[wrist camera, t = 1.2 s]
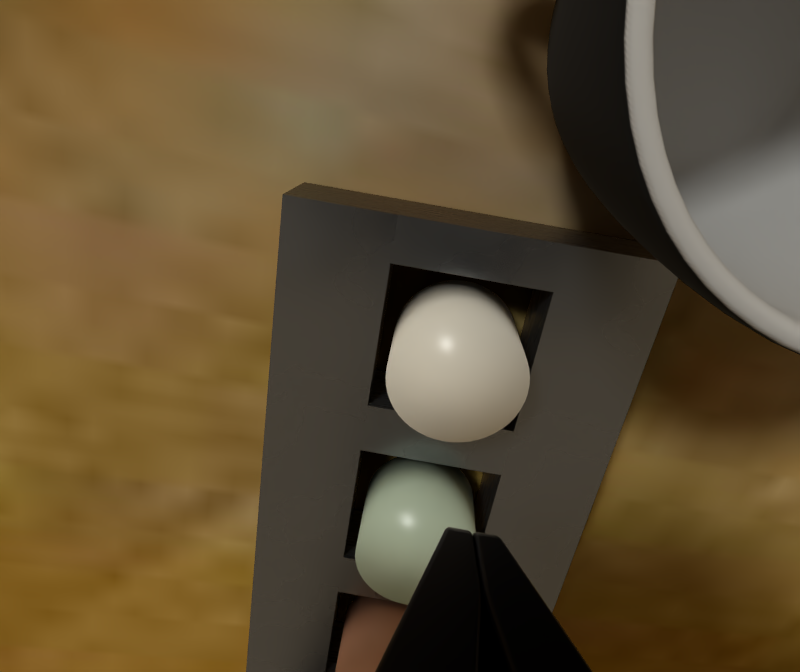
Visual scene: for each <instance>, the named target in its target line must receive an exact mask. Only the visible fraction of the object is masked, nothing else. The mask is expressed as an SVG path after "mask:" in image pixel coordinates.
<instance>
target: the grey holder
mask: <svg viewBox="0 0 800 672" xmlns="http://www.w3.org/2000/svg"><path fill="white" fill-rule="evenodd" d="M394 264H397V265H403V266H408V267H414V268H420V269H425V270H431V271H437V272H442V273H448V274H453V275H459V276H465V277H470V278H476V279H482V280H487V281H493V282H499V283H504V284H510V285H516V286H521V287H527V288H533V292H532V296H531V299H530V303H529V307H528V310H527V314H526V318H525V322H524V325H523V329H522V333H521V336H520V340H521V343H522V346H523V349H524V352H525V355H526V358H527V362H528V366H529V372H530V385H529V390H528V395H527V397H526V400H525V402H524V404H523V406H522V408H521V410H520V411H519V413H518V414H517V415H516V417H515V418H514V419H513V420H512V421H511V422H510V423H509V424H508V425H506V426H505V427H504V428H502V429H501V430H499V431H498V432H496V433H494V434H492V435H490V436H488V437H485V438H482V439H479V440H475V441H470V442H446V441H440V440H436V439H433V438H430V437H427V436H425V435H423V434H421V433H419V432H417V431H416V430H414V429H413V428H411V427H410V426H409V425H408V424H406V423H405V422H404V421H403V420H402V419H401V417H400V416H399V415H398V414H397V412H396V411H395V409H394V408H393V406H392V404H391V402H390V399H389V396H388V393H387V388H386V371H380V370H377V363H378V357H379V351H380V345H381V339H382V333H383V326H384V320H385V314H386V308H387V302H388V295H389V289H390V283H391V277H392V271H393V265H394ZM677 279H678V277H677V276H675V275H674V274H673V273H672V272H671V271H669V270H668V269H667V268H666V267H665V266H664V265H663V264H661V263H660V262H659V261H658V260H657V259H656V258H655V257H654V256H653V255H652V254H651V253H649V252H648V251H647V250H646V249H645V248H644V247H643V246H642V245H641V244H640V243H639V242H638V241H633V240H628V239H622V238H616V237H611V236H605V235H599V234H594V233H588V232H582V231H577V230H571V229H565V228H560V227H554V226H548V225H543V224H537V223H531V222H526V221H520V220H514V219H509V218H503V217H497V216H492V215H486V214H480V213H475V212H469V211H463V210H458V209H452V208H446V207H441V206H435V205H429V204H424V203H418V202H412V201H407V200H401V199H396V198H390V197H384V196H379V195H373V194H367V193H362V192H356V191H350V190H345V189H339V188H333V187H328V186H322V185H316V184H311V183H305V182H304V183H302V184H300V185H299V186H297V187H295V188H293V189H291V190H290V191H288V192H286V193H284V194H283V198H282V211H281V224H280V237H279V250H278V263H277V276H276V289H275V303H274V316H273V329H272V342H271V355H270V368H269V381H268V394H267V407H266V420H265V433H264V447H263V460H262V473H261V486H260V499H259V512H258V525H257V538H256V551H255V564H254V577H253V591H252V604H251V617H250V630H249V643H248V656H247V669H246V672H335V670H336V665H337V659H338V654H339V649H340V643H341V638H342V633H343V628H344V623H342V622H336V616H337V610H338V604H339V598H340V592H343V593H348V594H354V595H359V596H365V597H371V598H376V599H382V600H387V601H392V600H389V599H387V598H385V597H383V596H381V595H380V594H378V593H377V592H375V591H374V590H373V589H372V588H370V587H369V586H368V585H367V584H366V582H365V581H364V580H363V578H362V577H361V575H360V573H359V571H358V569H357V565H356V560H355V551H356V545H357V540H358V535H359V530H360V525H361V520H362V514H363V511H358V510H354V505H355V499H356V493H357V487H358V481H359V474H360V468H361V462H362V456H363V451H368V452H374V453H380V454H385V455H391V456H396V457H402V458H408V459H413V460H419V461H424V462H430V463H436V464H441V465H447V466H453V467H458V468H464V469H469V470H475V471H481V472H484V473H483V477H482V481H481V484H480V488H479V492H478V495H477V499H476V503H475V507H474V516H475V529H476V532H480V533H486V534H492V535H496V536H499V537H500V538H501V539H502V541H503V542H504V543H505V545H506V546H507V548H508V549H509V551H510V552H511V554H512V555H513V557H514V558H515V560H516V561H517V562H518V564H519V565H520V567H521V568H522V570H523V571H524V573H525V574H526V576H527V577H528V578H529V580H530V581H531V583H532V584H533V586H534V587H535V589H536V590H537V592H538V593H539V594H540V596H541V597H542V599H543V600H544V602H545V603H546V605H547V606H548V608H549V609H550V611H551V612H553V609H554V606H555V604H556V601H557V598H558V596H559V593H560V590H561V588H562V585H563V582H564V580H565V577H566V575H567V572H568V569H569V567H570V564H571V561H572V559H573V556H574V553H575V551H576V548H577V545H578V543H579V540H580V537H581V535H582V532H583V529H584V527H585V524H586V521H587V519H588V516H589V513H590V511H591V508H592V505H593V503H594V500H595V497H596V495H597V492H598V489H599V487H600V484H601V481H602V479H603V476H604V473H605V471H606V468H607V465H608V463H609V460H610V457H611V455H612V452H613V449H614V447H615V444H616V441H617V439H618V436H619V433H620V431H621V428H622V425H623V423H624V420H625V418H626V415H627V412H628V410H629V407H630V404H631V402H632V399H633V396H634V394H635V391H636V388H637V386H638V383H639V380H640V378H641V375H642V372H643V370H644V367H645V364H646V362H647V359H648V356H649V354H650V351H651V348H652V346H653V343H654V340H655V338H656V335H657V332H658V330H659V327H660V324H661V322H662V319H663V316H664V314H665V311H666V308H667V306H668V303H669V300H670V298H671V295H672V292H673V290H674V287H675V284H676V282H677ZM393 602H395V601H393Z"/></svg>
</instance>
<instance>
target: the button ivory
mask: <svg viewBox="0 0 800 672" xmlns="http://www.w3.org/2000/svg"><path fill="white" fill-rule="evenodd" d="M529 385H530V372H529V366H528V362H527V358H526V355H525V352H524V349H523V346H522V343H521V340H520V337H519V334H518V331H517V328H516V325H515V322H514V319H513V317H512V315H511V312H510V310H509V309H508V307H507V306H506V304H505V303H504V302H503V300H502V299H501V298H500V297H499V296H498V295H496V294H495V293H494V292H492V291H491V290H489V289H488V288H486V287H484V286H482V285H479V284H477V283H473V282H469V281H463V280H449V281H442V282H438V283H435V284H432V285H430V286H427V287H425V288H424V289H422V290H420V291H419V292H417V293H416V294H415V295H414V296H413V297H412V298H411V299H410V300H408V302H407V303H406V304H405V306H404V307H403V309H402V310H401V312H400V314H399V316H398V319H397V322H396V326H395V330H394V335H393V340H392V345H391V349H390V354H389V359H388V363H387V368H386V388H387V393H388V396H389V399H390V402H391V404H392V406H393V408H394V409H395V411H396V412H397V414H398V415H399V416H400V417H401V419H402V420H403V421H404V422H405V423H406V424H408V425H409V426H410V427H411V428H413V429H414V430H416V431H417V432H419V433H421V434H423V435H425V436H427V437H430V438H433V439H436V440H440V441H446V442H470V441H475V440H479V439H482V438H485V437H488V436H490V435H492V434H494V433H496V432H498V431H499V430H501V429H502V428H504V427H505V426H506V425H508V424H509V423H510V422H511V421H512V420H513V419H514V418H515V417H516V415H517V414H518V413H519V411H520V410H521V408H522V406H523V404H524V402H525V400H526V397H527V395H528V390H529Z"/></svg>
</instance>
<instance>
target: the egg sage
mask: <svg viewBox="0 0 800 672" xmlns="http://www.w3.org/2000/svg"><path fill="white" fill-rule="evenodd" d="M448 527H452V528H458V529H464V530H468V531H470V532H471V533H472V534H473V533H475V532H476V529H475V516H474V503H473V493H472V488H471V485H470V483H469V481H468V479H467V478H466V476H465V475H464V474H463V472H462V471H461V470H460V469H459V468H457V467H453V466H447V465H441V464H436V463H430V462H424V461H419V460H413V459H408V458H402V457H396V458H393V459H391V460H389V461H387V462H386V463H384V464H383V465H382V466H381V467H379V468H378V469H377V471H376V472H375V473H374V474H373V476H372V478H371V480H370V482H369V485H368V489H367V494H366V499H365V504H364V509H363V514H362V520H361V525H360V530H359V535H358V540H357V545H356V551H355V560H356V565H357V569H358V571H359V573H360V575H361V577H362V578H363V580H364V581H365V582H366V584H367V585H368V586H369V587H370V588H372V589H373V590H374V591H375V592H377V593H378V594H380V595H381V596H383V597H385V598H387V599H389V600H392V601H395V602H398V603H402V604H406V605H408V604H409V602H410V599H411V597H412V595H413V593H414V591H415V589H416V587H417V585H418V583H419V581H420V579H421V577H422V575H423V573H424V571H425V569H426V567H427V565H428V563H429V561H430V559H431V557H432V555H433V553H434V551H435V549H436V547H437V545H438V543H439V541H440V539H441V536H442V534H443V532H444V530H445V529H446V528H448Z"/></svg>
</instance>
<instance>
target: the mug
mask: <svg viewBox="0 0 800 672" xmlns="http://www.w3.org/2000/svg"><path fill="white" fill-rule="evenodd" d="M547 75H548V89H549V95H550V101H551V107H552V111H553V115H554V119H555V122H556V126H557V128H558V131H559V134H560V136H561V139H562V141H563V144H564V146H565V148H566V150H567V152H568V154H569V155H570V157H571V159H572V161H573V163H574V165H575V167H576V168H577V170H578V171H579V173H580V174H581V176H582V177H583V179H584V180H585V182H586V183H587V185H588V186H589V188H590V189H591V190H592V191H593V193H594V194H595V195H596V196H597V197H598V199H599V200H600V201H601V202H602V203H603V205H604V206H605V207H606V208H607V210H608V211H609V212H610V213H611V214H612V215H613V216H614V218H615V219H616V220H617V221H618V222H619V223H620V224H621V225H622V226H623V227H624V228H625V229H626V230H627V231H628V232H629V233H630V234H631V235H632V236H633V237H634V238H635V239H636V240H637V241H638V242H639V243H640V244H641V245H642V246H643V247H644V248H645V249H646V250H647V251H648V252H649V253H651V254H652V255H653V256H654V257H655V258H656V259H657V260H658V261H659V262H660V263H661V264H663V265H664V266H665V267H666V268H667V269H668V270H669V271H671V272H672V273H673V274H674V275H675V276H677V277H678V278H679V279H680V280H682V281H683V282H684V283H685V284H687V285H688V286H689V287H690V288H692V289H693V290H694V291H696V292H697V293H698V294H699V295H701V296H702V297H703V298H705V299H706V300H707V301H709V302H710V303H711V304H713V305H714V306H715V307H717V308H718V309H720V310H721V311H722V312H724V313H725V314H727V315H728V316H730V317H732V318H733V319H735V320H736V321H738V322H740V323H741V324H743V325H745V326H746V327H748V328H750V329H751V330H753V331H755V332H756V333H758V334H760V335H761V336H763V337H765V338H766V339H768V340H770V341H771V342H773V343H776V344H778V345H780V346H782V347H784V348H786V349H789V350H791V351H793V352H795V353H797V354H800V0H556V4H555V7H554V12H553V16H552V22H551V28H550V34H549V43H548V58H547Z"/></svg>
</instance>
